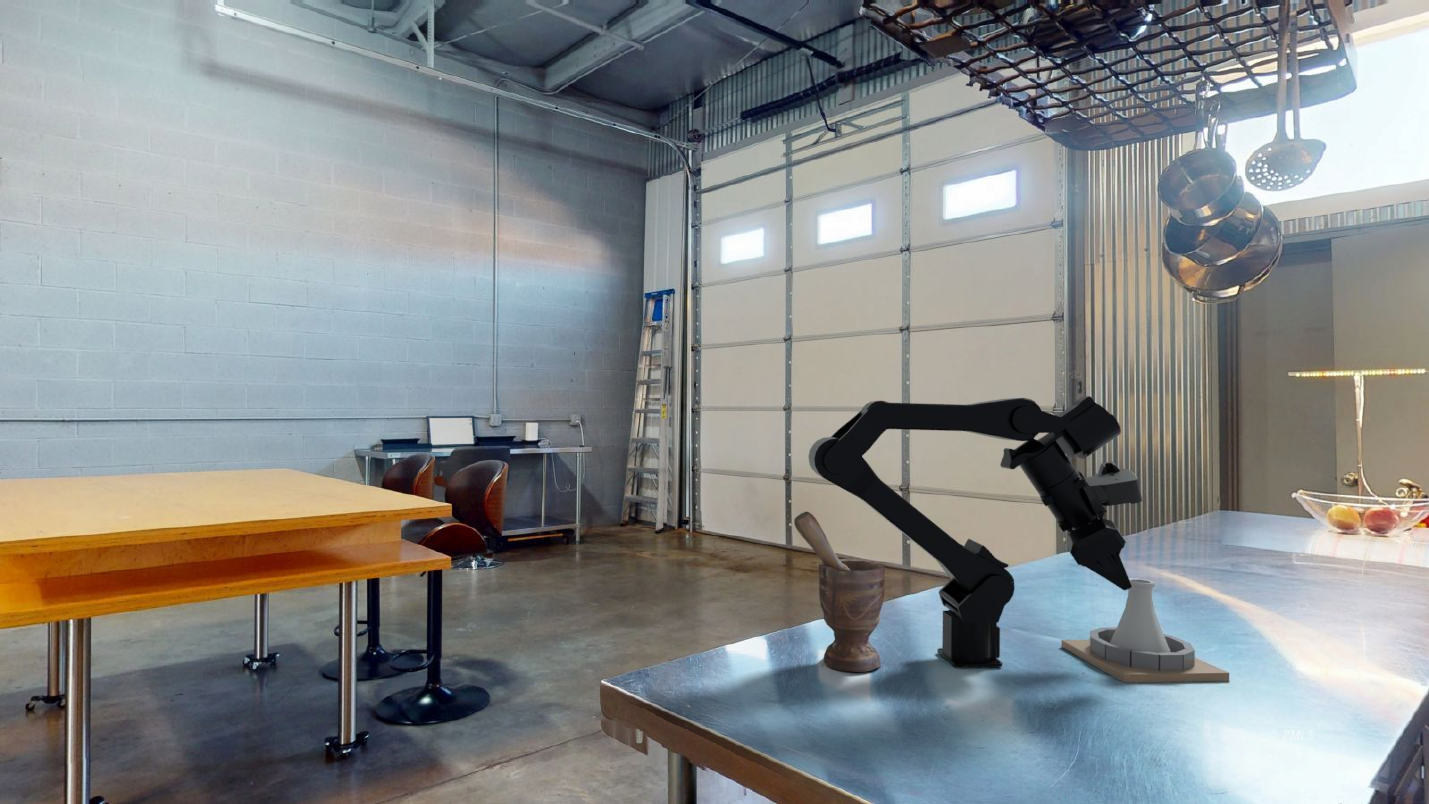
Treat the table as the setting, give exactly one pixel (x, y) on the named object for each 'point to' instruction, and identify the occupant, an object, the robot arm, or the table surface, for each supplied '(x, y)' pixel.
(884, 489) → the robot arm
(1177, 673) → the duct collar
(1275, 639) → the table surface
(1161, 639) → the flask
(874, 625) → the mortar and pestle
